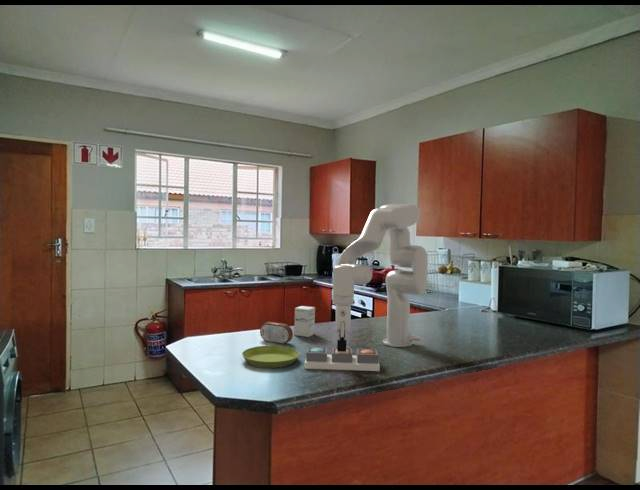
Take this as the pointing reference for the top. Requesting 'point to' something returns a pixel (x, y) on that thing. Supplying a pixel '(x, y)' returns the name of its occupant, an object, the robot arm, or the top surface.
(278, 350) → the saucer
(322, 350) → the teal button
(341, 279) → the robot arm
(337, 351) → the ochre button
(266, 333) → the tin
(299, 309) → the supplement box
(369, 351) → the brick button
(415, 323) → the top surface
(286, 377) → the top surface
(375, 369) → the button panel
